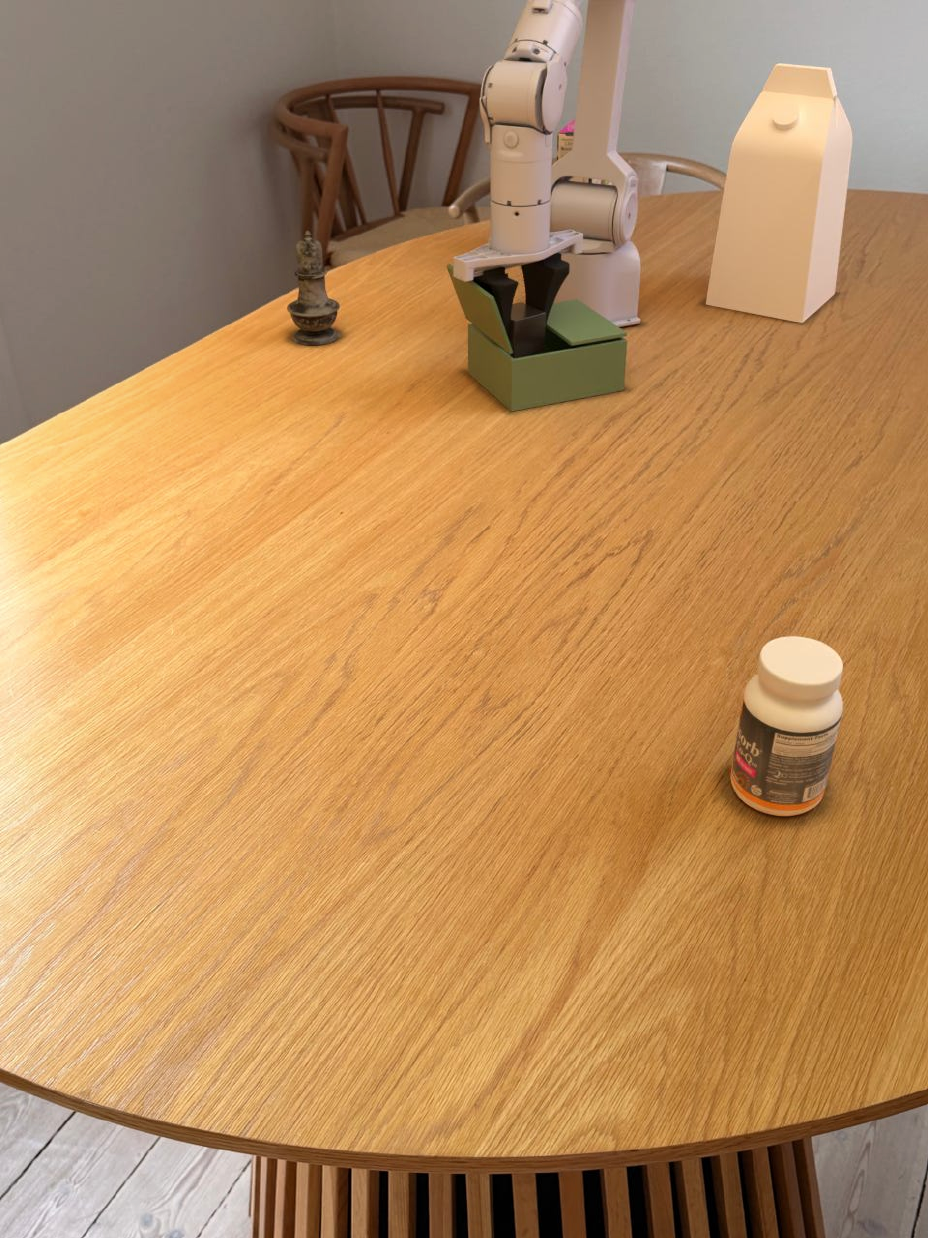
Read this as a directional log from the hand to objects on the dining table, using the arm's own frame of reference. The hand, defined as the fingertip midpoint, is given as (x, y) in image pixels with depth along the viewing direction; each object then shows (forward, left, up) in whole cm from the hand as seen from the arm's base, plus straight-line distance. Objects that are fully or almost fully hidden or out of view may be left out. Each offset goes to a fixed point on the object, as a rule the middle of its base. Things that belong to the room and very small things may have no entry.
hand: (517, 335), depth 123 cm
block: (0, 0, -1) cm, 1 cm away
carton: (-3, 0, -6) cm, 6 cm away
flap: (+4, 0, +4) cm, 5 cm away
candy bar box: (-27, -37, -6) cm, 46 cm away
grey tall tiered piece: (+15, -22, -6) cm, 27 cm away
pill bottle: (+12, +62, -6) cm, 63 cm away
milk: (-39, -11, -6) cm, 41 cm away
